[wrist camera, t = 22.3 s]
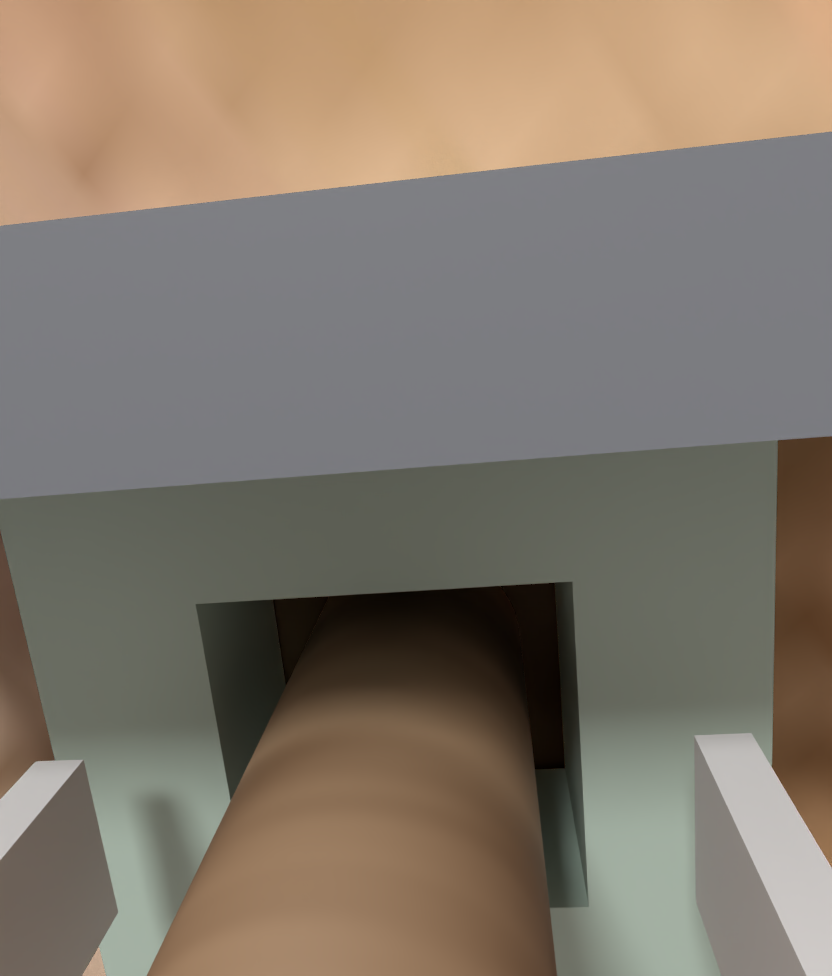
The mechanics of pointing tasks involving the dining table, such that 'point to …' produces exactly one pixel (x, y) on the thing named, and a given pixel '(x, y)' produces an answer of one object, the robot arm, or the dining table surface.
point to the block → (398, 568)
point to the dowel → (383, 808)
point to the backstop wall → (423, 322)
